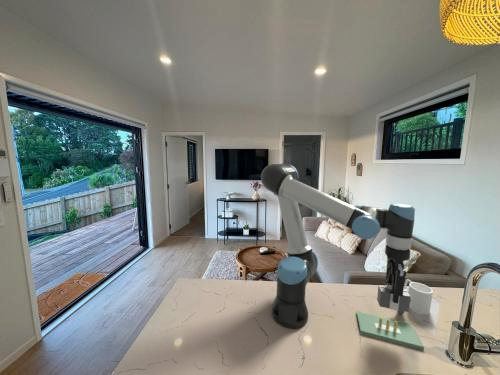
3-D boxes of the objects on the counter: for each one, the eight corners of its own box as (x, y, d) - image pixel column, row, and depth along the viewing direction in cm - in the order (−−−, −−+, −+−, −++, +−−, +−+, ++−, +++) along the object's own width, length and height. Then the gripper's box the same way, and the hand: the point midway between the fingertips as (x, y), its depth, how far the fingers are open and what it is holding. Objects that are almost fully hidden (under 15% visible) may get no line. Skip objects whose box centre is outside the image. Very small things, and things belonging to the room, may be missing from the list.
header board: (360, 333, 81) (361, 322, 80) (356, 313, 91) (357, 303, 91) (423, 350, 75) (425, 338, 74) (411, 326, 85) (413, 316, 84)
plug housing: (379, 306, 80) (381, 290, 79) (377, 299, 84) (378, 284, 83) (408, 312, 77) (410, 296, 76) (404, 304, 81) (406, 289, 80)
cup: (410, 296, 104) (412, 277, 103) (434, 313, 93) (438, 292, 91) (395, 297, 103) (398, 278, 102) (418, 315, 91) (421, 294, 90)
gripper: (420, 258, 68) (412, 324, 71) (402, 239, 85) (396, 293, 88) (393, 254, 71) (386, 318, 74) (380, 236, 87) (375, 289, 90)
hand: (391, 304), depth 81 cm, fingers closed on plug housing, 4 cm apart
